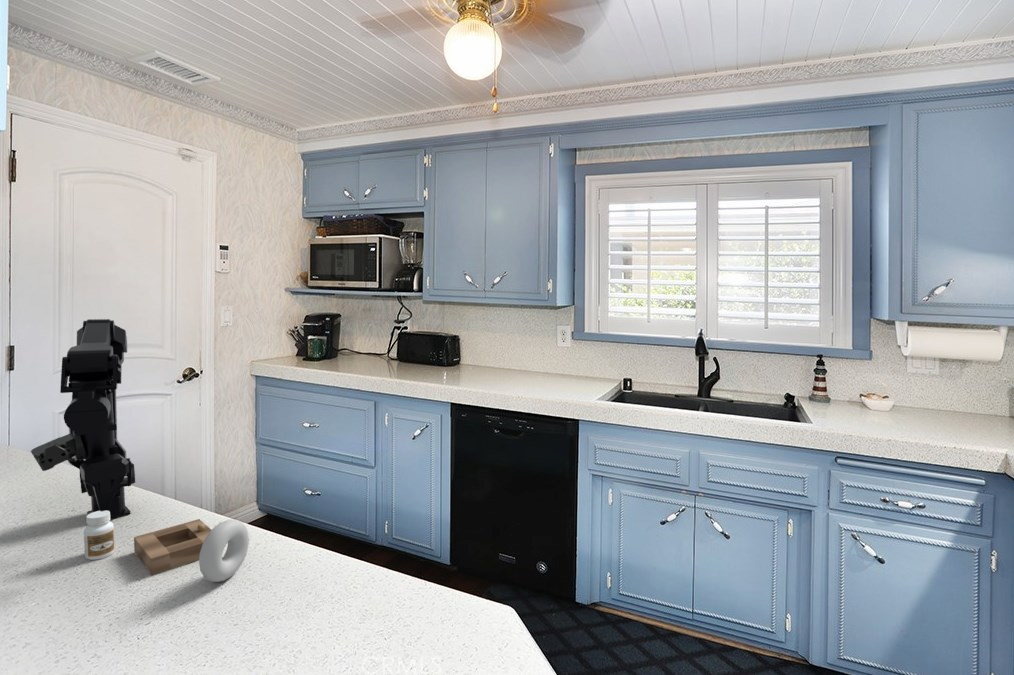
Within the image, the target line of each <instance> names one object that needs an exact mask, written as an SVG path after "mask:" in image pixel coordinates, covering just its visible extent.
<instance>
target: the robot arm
mask: <svg viewBox="0 0 1014 675" xmlns="http://www.w3.org/2000/svg"><path fill="white" fill-rule="evenodd" d="M126 353H128V336H127V331H126V329H125V328H122V327H120V326H119V325H116V323H115V321H114V320H111V319H110V318H108V319H106V318H104V319H103V318H101V319H100V318H99V319H96V318H95V319H87V320H83V322H82V327H80V328H79V329H78V330H76V345H74V346H71V347H70V348H69V349H68V350H67V353H66V356H62V359H61V371H60V373H61V374H60V390H59V391H60V393H61V394H65V393H66V394H67V393H72V394H71V401H70V403H69V404H68V406H67V408H66V409H65V411H64V413H63V420H64V424H65V425H66V426H67V428H68V432H69V433H68V434H66V435H63V436H59V437H57V438H55V439H52V440H49V441H47V442H45V443H43V444H40V445H38V446H36V447H34V448H33V449H31V450H30V453H31V455H32V456H33V458H34V460H35V461H36V463H37V464H38V466H39V467H40V469H41V470H42V472H45V471H48V470H51V469H53V468H54V467H55V466H57V465H59V464H61V463H63V462H68V463H69V465H72V466H73V467H75V468H77V469H79V482H80V491H81V494H85V493H86V494H87V495H88V497H90V498H91V501H90V502H91V503H90V504H91V510H88V511H87V512H86V514H87V515H88V514H90V513H93V512H96V511H101V512H102V511H106V510H107V511H109V512H110V520H111V519H115V518H119V517H124V516H127V515H130V514H131V510H130V509H129V508H128V506H126V496H125V487H131V486H132V485H134V484H135V483H136V472H135V470H136V469H135V464H134V463H133V462H132V460H131V457H127V450H125V448H124V446H123V445H122V444H121V443H120V442H119V440H118V418H117V416H118V414H117V413H118V410H117V389H118V384H119V385H121V384H122V367H123V366H122V364H123V363H124V360H125V354H126Z"/></svg>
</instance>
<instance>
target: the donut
mask: <svg viewBox="0 0 1014 675" xmlns="http://www.w3.org/2000/svg"><path fill="white" fill-rule="evenodd" d="M249 535H250V534H249V531H248V528H247V527H246V525H245V524H244V523H243V522H242V521H241V520H238V519H227V520H224V521H221V522H219V523H218V524H217V525H215V526H214V527H213V528H212V529H211V532H210V533H209V534H208V535H207V537H206V539H205V541H204V543H203V545H202V548H201V551H200V556H199V560H198V563H199V571H200V572H201V575H202V577H203V578H204V579H206V580H207V581H210V582H212V583H213V582H214V583H217V582H224V581H226V580H227V579H229V578H231V577H232V576H233V575H235V573H236V572H238V571H239V569H240V568H241V566H242V564H243V563H244V561H245V558H246V556H247V554H248V549H249V545H250V538H249V537H250V536H249ZM226 546H227V547H226ZM225 547H226V551H225V554H224V555H223V553H224V550H225Z"/></svg>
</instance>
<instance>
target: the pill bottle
mask: <svg viewBox="0 0 1014 675" xmlns="http://www.w3.org/2000/svg"><path fill="white" fill-rule="evenodd" d="M85 518H86V521H85V522H86V525H87V526H86V527H85V528H84V529H83V541H84V542H83V543H84V557H85V559H87V560H91V561H97V560H102V559H105V558H107V557H109V556H110V557H111V555H113V554H114V553H115V551H116V545H115V544H116V542H115V541H116V540H115V525H114V523H113V522H112V521H111V519H110V512H109V511H107V510H106V511H102V512H101V511H96V512H93V513H90V514H87V515H86V517H85Z"/></svg>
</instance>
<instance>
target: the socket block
mask: <svg viewBox="0 0 1014 675" xmlns="http://www.w3.org/2000/svg"><path fill="white" fill-rule="evenodd" d="M211 530H212V529H211V528H210V526H208V525H207V524H205V523H204V522H203V521H202V520H201V519H200V518H197V519H194V520H191V521H187V522H184V523H181V524H177V525H173V526H169V527H165V528H163V529H162V528H161V529H159V530H154V531H152V532H147V533H144V534H141V535H136V536H134V537H133V544H134V546H133V547H134V554H135V555H136V557H138V559H139V560H140V562H141V563H142V564H143V566H144V567H145V568H146V569H147V571H148V572H149V574H150V575H151V576H154V575H157V574H161V573H164V572H167V571H169V570H173V569H176V568H179V567H181V566H185V565H188V564H192V563H194V562H197V561H199V556H200V551H201V548H202V545H203V543H204V541H205V539H206V537H207V535H208V534H209V533H210V532H211Z"/></svg>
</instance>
